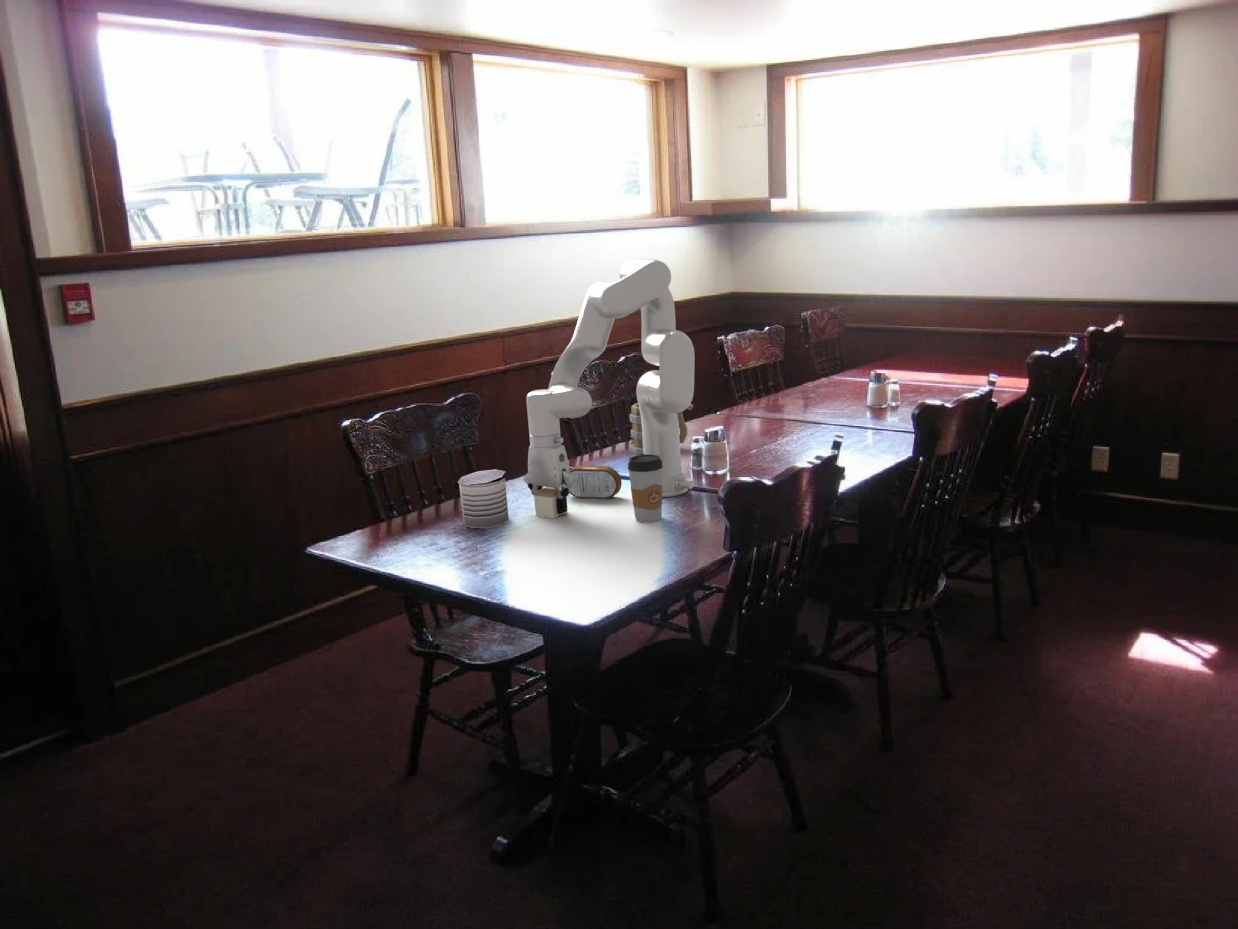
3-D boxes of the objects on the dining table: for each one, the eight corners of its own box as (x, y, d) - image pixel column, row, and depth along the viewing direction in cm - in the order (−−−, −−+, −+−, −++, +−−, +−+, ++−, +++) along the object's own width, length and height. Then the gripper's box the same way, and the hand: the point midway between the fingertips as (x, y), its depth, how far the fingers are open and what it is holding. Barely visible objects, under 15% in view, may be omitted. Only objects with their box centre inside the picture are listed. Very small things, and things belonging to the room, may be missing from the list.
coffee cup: (641, 526, 249) (637, 464, 246) (625, 518, 256) (620, 457, 253) (672, 519, 253) (668, 458, 249) (655, 511, 260) (651, 452, 256)
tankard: (624, 454, 321) (621, 405, 318) (639, 444, 332) (636, 397, 329) (687, 456, 314) (685, 405, 310) (700, 446, 325) (698, 397, 321)
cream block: (567, 512, 265) (565, 488, 264) (553, 518, 261) (551, 494, 259) (550, 509, 268) (548, 486, 267) (535, 515, 264) (533, 492, 262)
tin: (623, 497, 275) (620, 465, 273) (619, 500, 272) (616, 468, 270) (568, 495, 280) (566, 464, 278) (564, 498, 277) (561, 467, 275)
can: (506, 527, 256) (501, 479, 253) (459, 530, 256) (454, 482, 253) (511, 514, 267) (507, 467, 264) (466, 516, 267) (461, 470, 264)
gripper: (582, 440, 258) (588, 511, 262) (528, 434, 268) (534, 503, 272) (563, 446, 252) (569, 519, 256) (508, 441, 262) (515, 511, 266)
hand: (551, 510), depth 264 cm, fingers open, 6 cm apart
